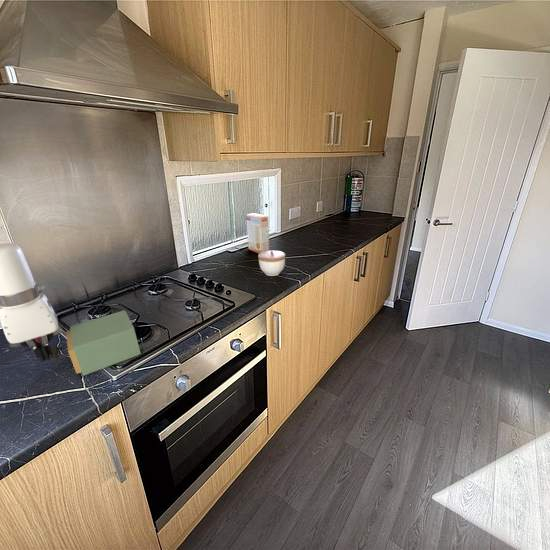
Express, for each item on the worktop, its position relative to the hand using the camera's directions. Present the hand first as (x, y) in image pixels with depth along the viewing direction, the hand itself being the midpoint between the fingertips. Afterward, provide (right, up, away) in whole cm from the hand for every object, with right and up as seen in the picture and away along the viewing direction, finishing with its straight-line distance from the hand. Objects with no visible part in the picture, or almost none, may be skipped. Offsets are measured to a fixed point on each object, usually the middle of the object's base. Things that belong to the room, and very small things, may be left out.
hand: (46, 357), depth 77 cm
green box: (+11, -1, +10) cm, 15 cm away
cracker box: (+51, +35, +92) cm, 111 cm away
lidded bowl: (+59, +23, +62) cm, 88 cm away
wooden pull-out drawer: (+8, -2, +7) cm, 11 cm away
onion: (-14, -1, +14) cm, 20 cm away
